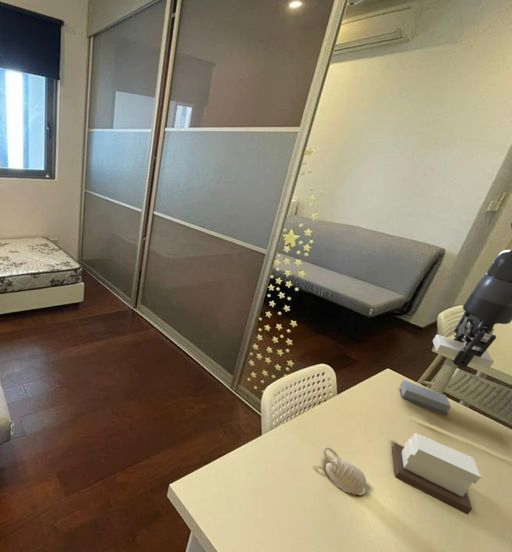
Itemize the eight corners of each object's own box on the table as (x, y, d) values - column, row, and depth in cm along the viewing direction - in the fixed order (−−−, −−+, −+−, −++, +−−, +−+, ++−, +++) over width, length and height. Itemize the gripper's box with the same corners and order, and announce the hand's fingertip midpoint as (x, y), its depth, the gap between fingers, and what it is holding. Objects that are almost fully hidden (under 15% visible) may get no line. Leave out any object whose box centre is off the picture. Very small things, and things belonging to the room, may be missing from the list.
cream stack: (457, 478, 67) (477, 453, 64) (467, 514, 60) (491, 489, 57) (391, 447, 73) (407, 423, 70) (395, 476, 66) (412, 452, 63)
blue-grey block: (440, 407, 86) (448, 396, 85) (444, 419, 82) (452, 408, 81) (396, 389, 91) (403, 379, 89) (398, 400, 87) (405, 389, 85)
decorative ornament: (358, 502, 60) (370, 484, 58) (312, 467, 66) (322, 449, 64) (365, 490, 62) (377, 473, 60) (320, 457, 68) (330, 440, 66)
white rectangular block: (482, 356, 76) (486, 349, 75) (489, 368, 72) (494, 361, 71) (432, 340, 81) (436, 334, 80) (436, 351, 76) (440, 344, 75)
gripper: (535, 316, 63) (485, 382, 69) (510, 293, 73) (470, 352, 80) (481, 302, 66) (440, 365, 73) (466, 282, 77) (431, 339, 84)
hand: (455, 358), depth 77 cm, fingers closed on white rectangular block, 6 cm apart
